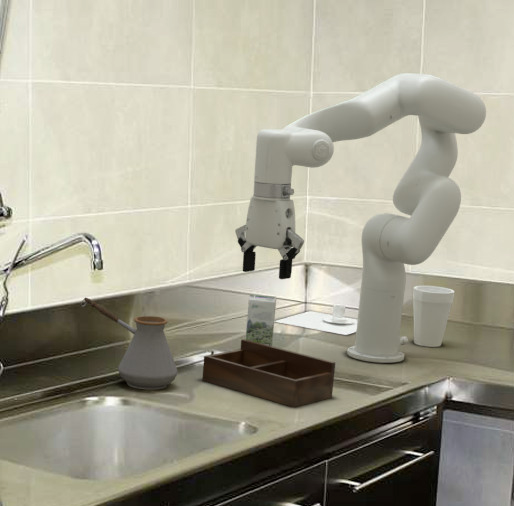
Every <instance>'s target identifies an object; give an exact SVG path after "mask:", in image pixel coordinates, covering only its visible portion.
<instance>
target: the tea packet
mask: <svg viewBox="0 0 514 506" xmlns="http://www.w3.org/2000/svg"><path fill="white" fill-rule="evenodd" d="M276 307H277V296H272V295H260V294H259V295H258V294H249V297H248V305H247V318H246V329H245V339H246V340H250V341H254V342H258V343H261V344H265V345H269V346H273V341H274V328H275V322H274V321H275V319H276Z"/></svg>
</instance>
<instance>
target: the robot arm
mask: <svg viewBox="0 0 514 506" xmlns="http://www.w3.org/2000/svg"><path fill="white" fill-rule="evenodd" d="M407 116H417V118H418V122H419V126H420V133H421V142H420V146H419V148H418V151H417V152H416V155H415V156H414V158H413V159H412V160H411V163H410V164H409V166H408V167H407V168H406V171H405V172H404V174H403V175H402V177H401V179H400V180H399V182H398V184H397V185H396V186H395V189H394V191H393V194H392V203H393V205H394V207H395V208H396V210H397V211H399V212H400V213H402V214H404V215H407V216H410V217H406V216H403V215H399V214H393V213H387V212H386V213H377V214H376V215H373V216H372V217H370V218H369V219H368V220H367V221H366V223H365V224H364V226H363V228H362V231H361V251H362V272H361V284H360V293H359V300H358V301H359V302H358V310H357V311H358V312H357V330H356V332H355V341H354V345H352V346H350V347H348V348H347V349H346V354H347V356H348V357H350V358H353V359H355V360H360V361H363V362H370V363H377V364H378V363H379V364H393V363H401V362H402V361H404V359H405V353H404V352H402V351H401V350H400V347H401V346H405V345H407V344H408V343H409V338H408V337H407V336H405V335H404V336H400V335H401V327H402V326H401V325H402V319H403V318H402V317H403V310H404V309H403V307H404V299H405V290H406V283H407V274H406V267H405V265H409V266H416V265H417V266H418V265H420V264H422V263H424V262H426V261H427V260H428V259H429V258H430V257H431V256H432V254H433V253H434V252H435V250H436V248H437V247H438V246H439V244H440V242H441V240H442V239H443V237H444V236H445V234H446V233H447V231H448V230H449V228H450V226H451V225H452V223H453V222H454V220H455V218H456V216H457V214H458V213H459V210H460V207H461V202H462V192H461V189H460V187H459V185H458V183H457V182H456V181H455V180H454V179H453V178H450V176H451V173H452V172H453V170H454V168H455V166H456V164H457V161H458V156H459V150H458V142H457V141H458V140H457V137H456V136H457V135H456V134H458V135H470V134H473V133H475V132H476V131H479V129H481V127H482V126H483V124H484V123H485V120H486V116H487V107H486V105H485V102H484V100H483V99H482V98H481V96H479V95H478V94H477V93H474V92H473V91H471V90H469V89H466V88H464V87H461V86H459V85H456V84H454V83H452V82H451V81H448V80H446V79H444V78H441V77H438V76H435V75H434V74H430V73H429V74H428V73H414V72H403V73H398V74H395V75H394V76H392V77H390V78H388V79H386V80H384V81H382V82H381V83H379V84H377V85H375V86H373V87H372V88H370V89H367V90H366V91H364V92H362V93H360V94H359V95H357V96H355V97H353V98H350V99H348V100H345V101H341V102H339V103H336V104H333V105H331V106H328V107H324V108H322V109H319V110H315V111H314V112H311V113H308V114H306V115H305V116H302V117H300V118H299V119H297V120H295V121H293V122H290V123H289V124H287V125H285V126H284V127H283V128H282V129H278V128H264V129H260V130H259V132H258V133H257V135H256V142H255V143H256V144H255V158H254V159H255V160H254V161H255V162H254V176H253V192H252V193H253V195H252V196H251V197H250V200H249V205H248V209H247V214H246V222H245V224H243V225H242V226H240V227H238V228H236V229H235V232H234V233H235V236H236V238H237V243H238V245H239V247H240V251H241V252H242V253H243V257H242V259H243V260H242V272H243V273H249V272H254V271H255V269H256V256H257V255H256V253H257V252H256V251H255V249H256V247H260V248H265V249H271V250H277V251H278V252H279V254H280V256H281V258H282V259H280V260H279V268H278V279H279V280H286V279H288V280H289V279H291V278H292V271H293V260H295V259H296V257H297V256H298V254H300V252H301V250H302V247H303V245H304V243H305V240H304V238H302V237H301V236H300V235H299V234H298V233H297V232H296V209H295V203H294V200H293V199H291V196H294V194H295V188H292V176H293V166H300V167H305V168H309V169H311V168H313V169H315V168H321V167H322V166H324V165H326V164H328V162H330V160H331V159H332V158H333V156H334V151H335V147H334V143H337V142H341V141H342V142H343V141H353V140H361V139H365V138H368V137H371V136H373V135H375V134H377V133H378V132H380V131H381V130H383V129H385V128H387V127H389V126H390V125H392V124H394V123H396V122H398V121H400V120H402V119H403V118H406V117H407Z"/></svg>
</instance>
